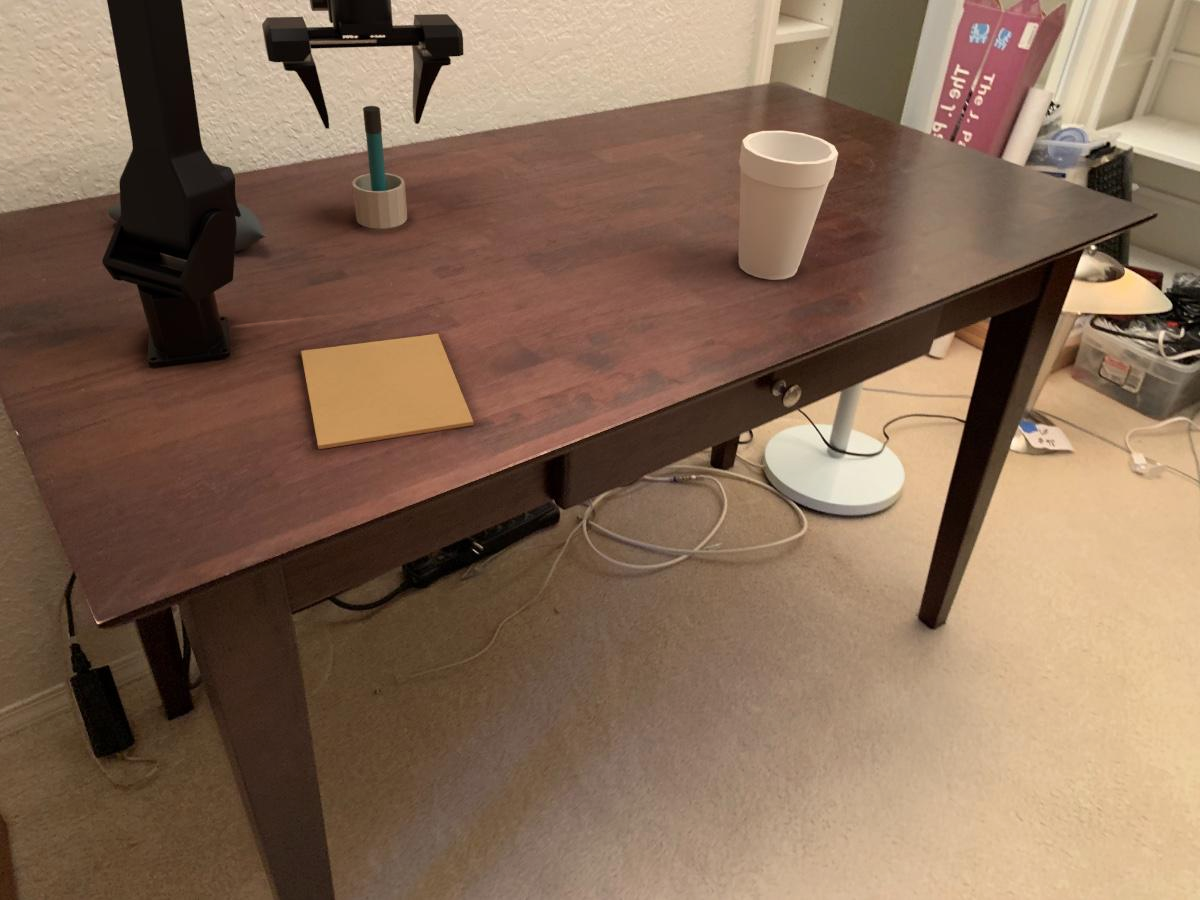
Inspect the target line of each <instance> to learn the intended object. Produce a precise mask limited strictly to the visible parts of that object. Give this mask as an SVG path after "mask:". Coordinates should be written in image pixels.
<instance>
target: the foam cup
mask: <svg viewBox="0 0 1200 900" xmlns="http://www.w3.org/2000/svg"><path fill="white" fill-rule="evenodd" d="M740 146H741V148H740V154H739V160H738V165H739V168H740V178H739V179H740V182H739V220H738V221H739V223H738V266H739V268H740V269H741V270H742V271H743V272H745V273H746V274H748V275H750V276H752V277H754V278H755V277H756V278H759V279H764V280H769V281H778V280H786V279H788V278H792V277H794V276H795V275H796V273H797V272H798V269H799V267H800V264H801V262H802V259H803V257H804V253H805V251H806V248H807V245H808V242H809V240H810V237H811V234H812V231H813V228H814V226H815V223H816V220H817V218H818V214H819V211H820V209H821V206H822V203H823V200H824V197H825V194H826V192H827V189H828V187H829V183H830V182H831V180H832V179H833V177H834V175H835V170H836V166H837V165H836V164H837V161H838V157H839V152H838V149H836V146H835V145H834V144H833V143H830V142H829V141H826V140H825V139H823V138H821V137H818V136H814V135H810V134H807V133H803V132H796V131H789V130H761V131H756V132H754V133H749V134H748V135H746V136H745V137H744V138H743V139H742V140H741V145H740Z"/></svg>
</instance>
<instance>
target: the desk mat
mask: <svg viewBox="0 0 1200 900" xmlns="http://www.w3.org/2000/svg"><path fill="white" fill-rule="evenodd" d="M300 355H301V360H302V365H303V371H304V375H305V376H304V377H305V381H306V382H305V383H306V389H307V394H308V400H309V405H310V410H311V416H312V421H313V427H314V432H315V438H316V444H317V448H318V450H324V449H329V448H337V447H343V446H348V445H356V444H362V443H368V442H375V441H381V440H389V439H393V438H401V437H407V436H413V435H414V436H415V435H420V434H426V433H433V432H439V431H447V430H452V429H459V428H463V427H464V428H465V427H470V426H471V427H472V426H474V419H473V417H472V414H471V412H470V410H469V407H468V405H467V402H466V400H465V397H464V395H463V392H462V390H461V387H460V385H459V383H458V380H457V378H456V376H455V373H454V371H453V367H452V365H451V363H450V360H449V358H448V354H447V353H446V350H445V348H444V346H443V343H442V340H441V339H440V336H439V333H432V334H425V335H416V336H408V337H401V338H400V337H399V338H392V339H385V340H375V341H369V342H359V343H352V344H347V345H346V344H343V345H337V346H330V347H329V346H328V347H320V348H313V349H304V350H301V351H300Z"/></svg>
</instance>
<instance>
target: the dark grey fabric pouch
mask: <svg viewBox="0 0 1200 900" xmlns="http://www.w3.org/2000/svg"><path fill="white" fill-rule="evenodd" d="M237 207H238V209H239V211H240V213H241V216H240V217H236V216H235V218H236V228H237V233H236V239H235V253H238V252H240V251H244V250H246V249H248V248H249V247H251V246H253V245H254V244H256V243H257V242H259V241H260V240H262V239H264V238H266V235H265V230H264V227H263V224H262V222H261V220H260V219H259V218H258V217H257V215H255V213H253V212H252V211H251V210H250V209H249V208H248V207H247V206H245V205H242V204H241V203H239V202H237ZM107 213H108V216H109V217H110V218H111V219H112V220H113V221H115V222H116V223H118V220H119V218H120V215H121V206H120V203H116V204H115V205H113V206H111V207H110V208H109V209H108V211H107Z"/></svg>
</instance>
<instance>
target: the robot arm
mask: <svg viewBox="0 0 1200 900" xmlns="http://www.w3.org/2000/svg"><path fill="white" fill-rule="evenodd" d="M106 2H107V10H108V15H109V19H110V25H111V31H112V36H113V42H114V47H115V53H116V58H117V64H118V70H119V71H118V72H119V76H120V81H121V87H122V92H123V97H124V104H125V109H126V113H127V114H126V115H127V120H128V126H129V131H130V136H131V142H132V143H131V144H132V150H131V152H130V155H129V157H128V159H127V161H126V163H125V166H124V168H123V171H122V173H121V175H120V178H119V182H118V183H119V204H120V206H121V215H120V218H119V220H118V222H116V225H115V228H114V230H113V233H112V236H111V237H110V240H109V242H108V244H107V248H106V250H105V252H104V254H103V257H102V261H101V262H102V265H103V266H104V268H105V269H106V270H107V272H108V273H109V275H110V277H112V278H113V279H114V280H115V281H118V282H119V281H122V282H126V283H129V284H133V285H135V286H136V287H137V290H138V295H139V298H140V302H141V305H142V309H143V312H144V316H145V319H146V322H147V326H148V341H147V342H148V343H147V344H148V345H147V359H146V360H147V363H148V365H149V367H158V366H159V367H160V366H167V365H177V364H185V363H193V362H199V361H208V360H217V359H224V358H228V357H230V356H231V354H232V353H231V340H230V327H229V326H230V325H229V320H228V317H227V316H220V311H219V306H218V302H217V299H216V294H215V292H216V291H218V290H220V289H221V288H223V287H224V286H226V285H228V284H230V283H231V282H233V280H234V270H235V257H236V256H235V255H236V254H235V253H236V252H235V239H236V233H237V228H236V218H235V216H236V217H240V216H241V213H240V211H239V209H238V207H237V203H238V202H237V199H236V177H235V175H234V172H233V169H232V168H231V167H229V166H226V165H222V164H218V163H214V162H212V160H211V158H210V156H208V154H207V153H206V151H205V149H204V148H203V142H202V137H201V130H200V129H201V128H200V123H199V115H198V109H197V101H196V95H195V86H194V80H193V73H192V66H191V65H192V64H191V58H190V50H189V43H188V36H187V30H186V23H185V21H186V20H185V15H184V8H183V0H106ZM309 5H310V10H311V11H312V12H327V13H328V20H329V22H330V23H331V24H332V26H311V27H308V26H307V24H306V22H305V19H304V17H303V16H277V17H276V16H275V17H274V16H271V17H266V18H265V20H264V21H263V22H262V25H261V26H262V27H261V28H262V34H263V40H264V46H265V47H264V48H265V51H266V54H267V59H268V61H269V62H273V63H282V66H283V69H284V71H287V72H295V73H296V75H297V76H298V77H299V79H300V81H301V82H302V84H303V85H304V87H305V89H306V91H307V92H308V94H309V95H310V98H311V100H312V102H313V104H314V106H315V109H316V111H317V113H318V115H319V118H320V120H321V122H322V124H323V126H324V129H325V130H327V129H330V121H329V120H330V119H329V118H330V117H329V114H328V108H327V104H326V101H325V97H324V93H323V90H322V85H321V80H320V76H319V73H318V68H317V65H316V62H315V60H314V57H313V53H312V49H313V50H314V49H346V48H347V49H349V48H382V47H386V48H387V47H411V48H412V50H411V51H412V61H413V76H412V77H413V78H412V79H413V80H412V117H413V122H414V124H416V125H418V124H420V122H421V119H422V116H423V113H424V110H425V108H426V105H427V101H428V99H429V95H430V93H431V90H432V88H433V85H434V83H435V81H436V80H437V77H438V76H439V73H440V71H441V69H442V68H443V67H445V66H446V67H447V66H450V65H451V64H452V59H451V58H452V57H454V58H455V57H461V56H464V36H463V30H462V29H461V28H460V26H458V24H457V23H456V22H455V21H454V20H453V18H452V17H451V16H450V15H449V14H448V13H434V14H433V13H428V14H427V13H426V14H414V15H413V24H402V25H401V24H400V25H395V24H394V21H393V9H392V0H309ZM344 36H345V37H344ZM346 36H352V37H346Z"/></svg>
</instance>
